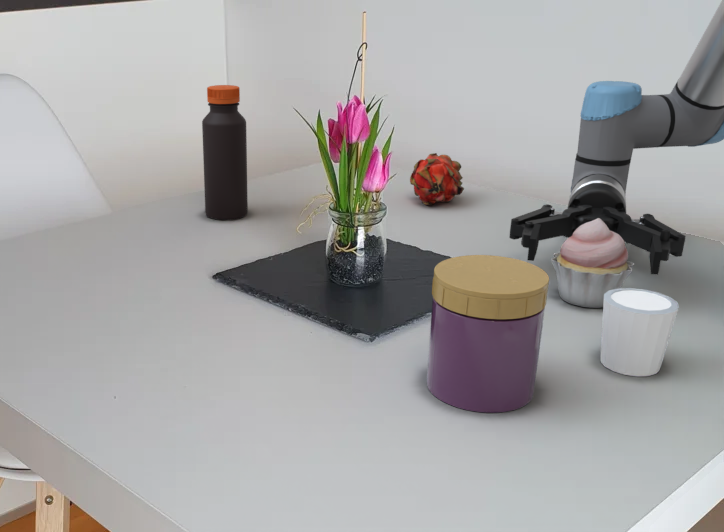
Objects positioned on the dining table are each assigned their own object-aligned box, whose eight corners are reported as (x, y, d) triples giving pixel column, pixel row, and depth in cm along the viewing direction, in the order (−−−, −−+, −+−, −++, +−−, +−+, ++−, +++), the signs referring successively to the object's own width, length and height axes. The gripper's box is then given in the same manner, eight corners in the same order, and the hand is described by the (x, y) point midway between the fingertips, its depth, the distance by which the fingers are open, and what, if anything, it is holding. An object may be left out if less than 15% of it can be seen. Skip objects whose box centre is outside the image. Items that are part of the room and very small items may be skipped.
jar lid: (549, 285, 79) (552, 261, 78) (541, 326, 71) (545, 300, 70) (442, 272, 83) (444, 249, 82) (422, 310, 74) (424, 285, 73)
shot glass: (670, 358, 86) (683, 294, 83) (661, 385, 80) (674, 318, 77) (600, 343, 89) (610, 282, 86) (587, 369, 83) (597, 304, 81)
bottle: (196, 215, 133) (191, 87, 126) (224, 206, 138) (220, 82, 131) (229, 223, 130) (225, 91, 122) (256, 213, 135) (254, 86, 127)
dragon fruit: (440, 200, 147) (436, 229, 137) (402, 171, 146) (396, 199, 136) (472, 164, 143) (471, 192, 133) (433, 134, 142) (429, 160, 132)
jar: (537, 372, 83) (551, 267, 79) (528, 420, 74) (543, 306, 70) (436, 357, 86) (444, 255, 82) (417, 401, 77) (424, 291, 73)
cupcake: (639, 296, 101) (653, 216, 97) (612, 320, 94) (626, 236, 91) (563, 279, 107) (574, 203, 103) (533, 300, 100) (543, 220, 96)
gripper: (691, 244, 112) (705, 300, 94) (501, 225, 121) (480, 273, 102) (701, 189, 110) (718, 236, 91) (506, 174, 118) (486, 214, 99)
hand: (592, 256), depth 97 cm, fingers open, 13 cm apart
